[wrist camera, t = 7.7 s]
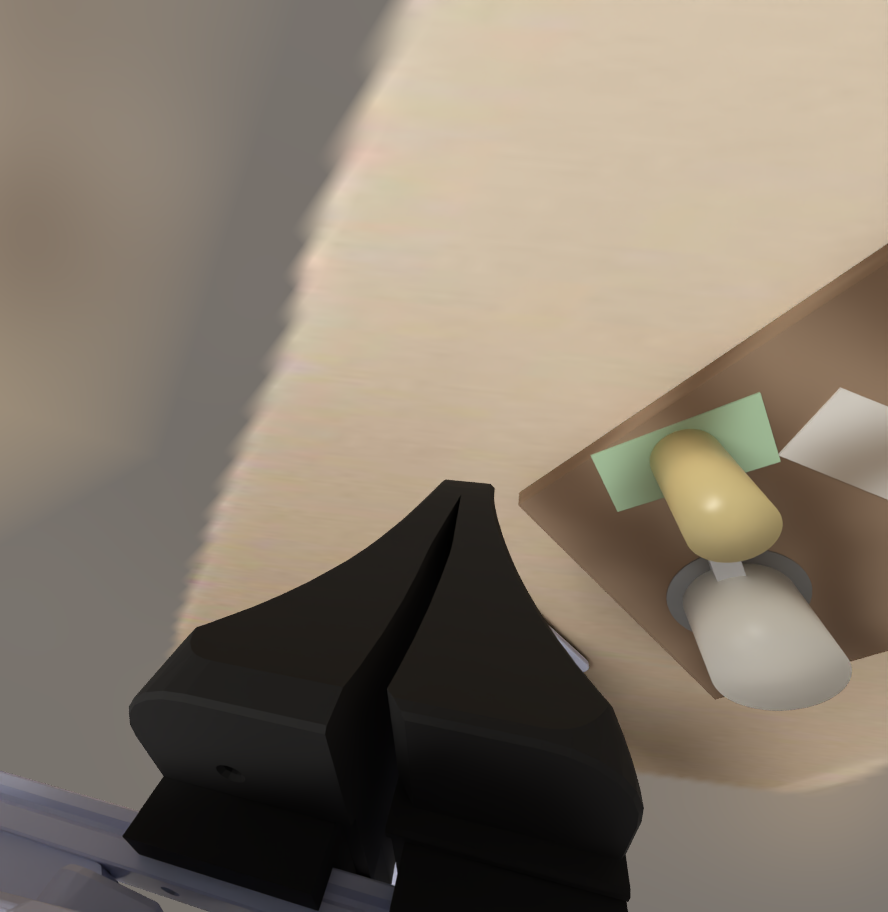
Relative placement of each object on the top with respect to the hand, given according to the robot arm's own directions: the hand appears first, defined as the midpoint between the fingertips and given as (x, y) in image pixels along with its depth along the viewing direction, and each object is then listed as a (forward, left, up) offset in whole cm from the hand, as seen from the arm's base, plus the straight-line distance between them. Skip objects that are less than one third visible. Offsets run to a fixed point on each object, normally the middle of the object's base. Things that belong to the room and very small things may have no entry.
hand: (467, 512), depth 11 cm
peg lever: (+3, -12, -8) cm, 15 cm away
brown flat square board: (+6, -14, -10) cm, 18 cm away
